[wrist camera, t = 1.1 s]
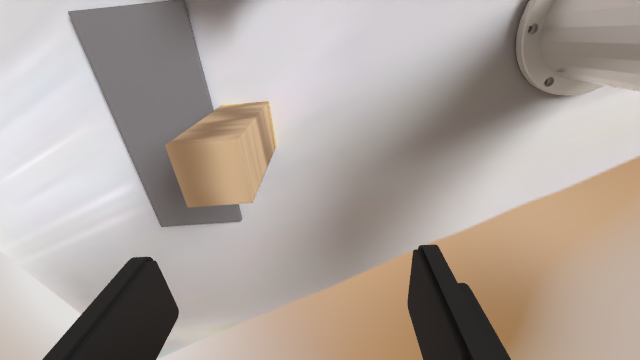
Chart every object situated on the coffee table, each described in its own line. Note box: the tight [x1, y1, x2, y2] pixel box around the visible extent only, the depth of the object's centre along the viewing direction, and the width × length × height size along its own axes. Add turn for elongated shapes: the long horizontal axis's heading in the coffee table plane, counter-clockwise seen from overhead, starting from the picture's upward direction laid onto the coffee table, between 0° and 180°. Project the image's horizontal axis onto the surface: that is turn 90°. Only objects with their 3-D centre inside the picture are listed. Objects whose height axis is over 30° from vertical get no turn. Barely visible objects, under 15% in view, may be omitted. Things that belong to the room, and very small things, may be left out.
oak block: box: [165, 101, 276, 208], centre depth 25 cm, size 5×5×12 cm
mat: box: [68, 0, 242, 227], centre depth 30 cm, size 10×24×1 cm, turn 5°
